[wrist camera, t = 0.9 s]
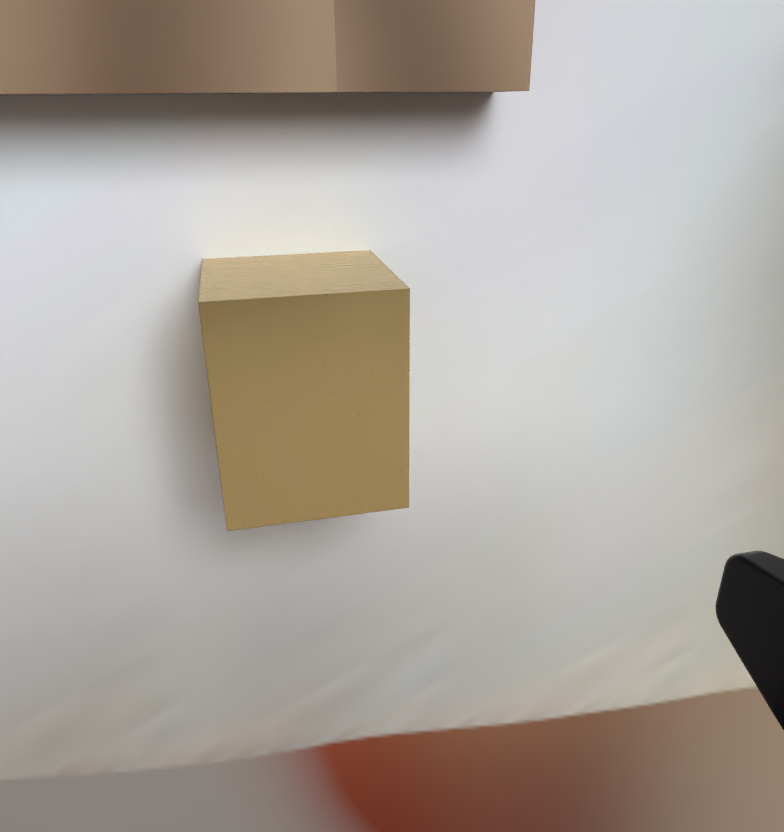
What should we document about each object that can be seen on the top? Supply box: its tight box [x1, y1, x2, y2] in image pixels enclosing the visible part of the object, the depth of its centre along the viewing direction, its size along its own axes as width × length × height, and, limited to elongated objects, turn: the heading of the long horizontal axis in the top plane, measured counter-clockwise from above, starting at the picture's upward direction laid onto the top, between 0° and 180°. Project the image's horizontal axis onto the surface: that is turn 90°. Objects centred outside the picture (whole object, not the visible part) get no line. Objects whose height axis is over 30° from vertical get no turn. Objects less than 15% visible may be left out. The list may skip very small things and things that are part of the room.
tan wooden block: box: [198, 250, 410, 531], centre depth 16 cm, size 4×5×4 cm
